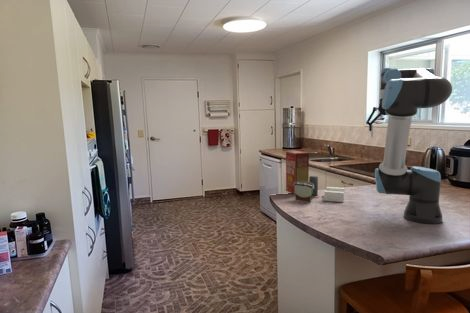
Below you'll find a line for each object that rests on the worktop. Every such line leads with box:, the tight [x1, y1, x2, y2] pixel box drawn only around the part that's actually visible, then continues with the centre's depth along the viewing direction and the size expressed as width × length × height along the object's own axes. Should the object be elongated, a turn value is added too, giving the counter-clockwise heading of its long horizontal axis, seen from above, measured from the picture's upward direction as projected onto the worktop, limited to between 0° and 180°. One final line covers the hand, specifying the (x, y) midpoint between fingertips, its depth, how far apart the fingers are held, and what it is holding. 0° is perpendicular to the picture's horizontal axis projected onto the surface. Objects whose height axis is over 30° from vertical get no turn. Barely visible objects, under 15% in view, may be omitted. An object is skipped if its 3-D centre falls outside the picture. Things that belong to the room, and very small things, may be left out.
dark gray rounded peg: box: [308, 175, 319, 196], centre depth 186 cm, size 5×5×11 cm
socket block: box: [323, 186, 346, 203], centre depth 182 cm, size 13×10×5 cm
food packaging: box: [285, 150, 310, 196], centre depth 196 cm, size 13×9×25 cm
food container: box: [293, 181, 314, 204], centre depth 178 cm, size 12×6×10 cm, turn 47°
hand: (385, 137), depth 174 cm, fingers open, 13 cm apart
